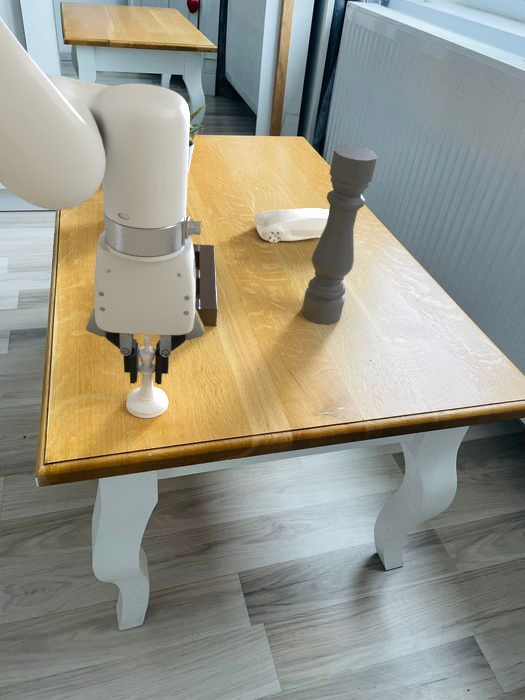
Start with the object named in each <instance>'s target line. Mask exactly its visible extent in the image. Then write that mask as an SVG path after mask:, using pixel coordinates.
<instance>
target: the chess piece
mask: <svg viewBox="0 0 525 700" xmlns="http://www.w3.org/2000/svg"><path fill="white" fill-rule="evenodd" d="M143 342H144V346H141V347H140V348H139V347H138V356H139V361H140V362H139V365H138V368H137V370H138V374H141V384H140V386H139V387H137V388H136V387H135V389H132V390H131V391H130V392H129V394H127V397H126V401H125V406H126V410H127V411H128V412H129V413H130V414H132V416H135V417H137V418H141V419H152V418H157V417H158V416H160V415H162V414H163V413H165V412H166V410H167V409H168V407H169V400H168V396H167V394H166V392H165V391H164V390H162V389H161V388H160V387H159V388H158V387H156V386H154V382H153V374H155V362H154V360H155V354H156V348H155V347H153V346H151V345H150V336H149V335H144V336H143Z"/></svg>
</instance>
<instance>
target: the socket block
mask: <svg viewBox="0 0 525 700" xmlns="http://www.w3.org/2000/svg"><path fill="white" fill-rule="evenodd" d="M193 249H194V256H195V268H198V269H196V295H198V298H196V302H195V308H196V310H197V312H198V314H199V316H200V319H201V321H202V323H203V325H204V327H217V323H218V294H217V293H218V292H217V276H216V274H217V271H216V257H215V255H216V254H215V245H214V244H212V245H211V244H199V243H197V244H196V243H193Z"/></svg>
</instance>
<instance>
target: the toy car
mask: <svg viewBox="0 0 525 700" xmlns="http://www.w3.org/2000/svg"><path fill="white" fill-rule="evenodd" d="M328 214H329V209H326V208H320V207H319V208H318V207H309V208H295V209H294V208H293V209H273V210H264V211H259V212H258V213H256V214H255V215H254V222H255V228H256V231H257V233H258V236H259V237H261V239H262V240H265V241H266V242H269V243H272V244H277V243H278V242H280V241H281V242H282V241H283V242H294V241H301V240H303V241H304V240H310V239H315V238H318V239H320V237H321V235H322V233H323V231H324V228H325V226H326V224H327V219H328Z"/></svg>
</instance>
